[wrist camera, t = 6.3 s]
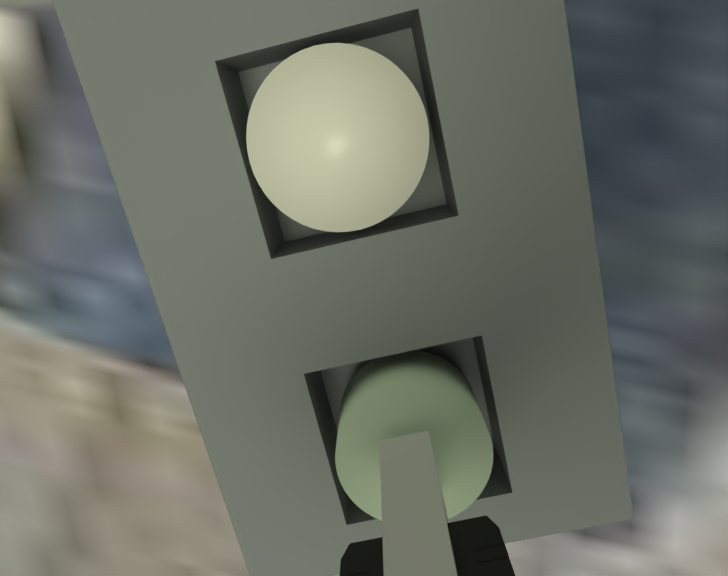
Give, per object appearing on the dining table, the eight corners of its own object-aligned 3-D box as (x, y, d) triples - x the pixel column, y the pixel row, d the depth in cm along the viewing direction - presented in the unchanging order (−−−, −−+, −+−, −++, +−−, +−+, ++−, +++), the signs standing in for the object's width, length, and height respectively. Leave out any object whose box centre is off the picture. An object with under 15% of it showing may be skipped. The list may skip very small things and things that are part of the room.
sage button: (462, 337, 20) (477, 371, 17) (487, 459, 21) (505, 510, 19) (325, 366, 21) (317, 404, 18) (357, 485, 22) (355, 539, 19)
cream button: (401, 40, 18) (408, 21, 15) (434, 198, 19) (445, 209, 16) (247, 79, 18) (223, 69, 15) (288, 232, 19) (274, 249, 16)
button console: (448, -377, 19) (482, -607, 13) (575, 433, 26) (633, 518, 20) (46, -253, 20) (-91, -415, 14) (279, 492, 27) (254, 590, 21)
